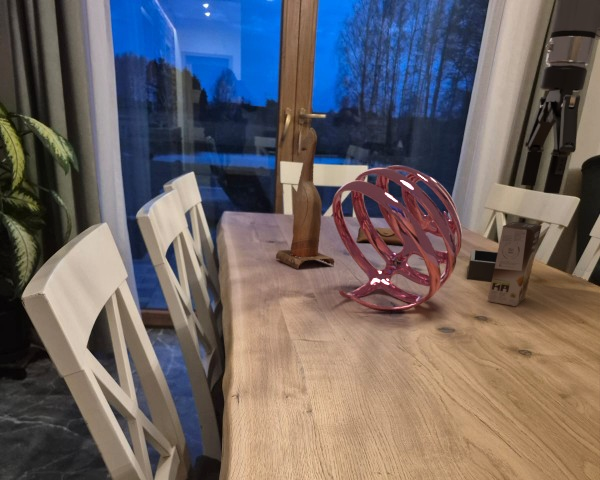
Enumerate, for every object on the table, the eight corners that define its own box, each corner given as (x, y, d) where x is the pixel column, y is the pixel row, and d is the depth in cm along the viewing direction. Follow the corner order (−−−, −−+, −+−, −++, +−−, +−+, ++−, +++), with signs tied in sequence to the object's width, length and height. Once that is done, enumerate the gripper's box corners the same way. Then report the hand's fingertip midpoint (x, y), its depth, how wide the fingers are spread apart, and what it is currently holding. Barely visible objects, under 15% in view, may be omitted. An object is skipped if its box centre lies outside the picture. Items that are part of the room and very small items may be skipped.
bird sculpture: (309, 257, 156) (316, 127, 142) (335, 266, 148) (346, 129, 134) (274, 260, 151) (278, 125, 136) (299, 270, 142) (306, 127, 128)
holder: (514, 271, 153) (518, 253, 151) (517, 284, 140) (521, 265, 138) (468, 266, 156) (471, 249, 154) (466, 278, 143) (470, 260, 141)
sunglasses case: (356, 241, 177) (358, 220, 178) (356, 249, 184) (358, 229, 185) (415, 245, 175) (417, 224, 176) (412, 253, 182) (414, 233, 183)
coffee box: (516, 307, 122) (534, 229, 115) (486, 301, 125) (502, 225, 118) (525, 297, 129) (542, 224, 122) (497, 292, 132) (512, 220, 125)
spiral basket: (330, 217, 94) (445, 120, 98) (273, 229, 119) (367, 151, 124) (414, 346, 105) (514, 254, 109) (345, 332, 130) (429, 258, 135)
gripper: (523, 70, 116) (502, 181, 126) (572, 59, 94) (541, 195, 103) (560, 72, 116) (536, 183, 126) (618, 61, 94) (583, 197, 103)
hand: (538, 189), depth 115 cm, fingers open, 13 cm apart
